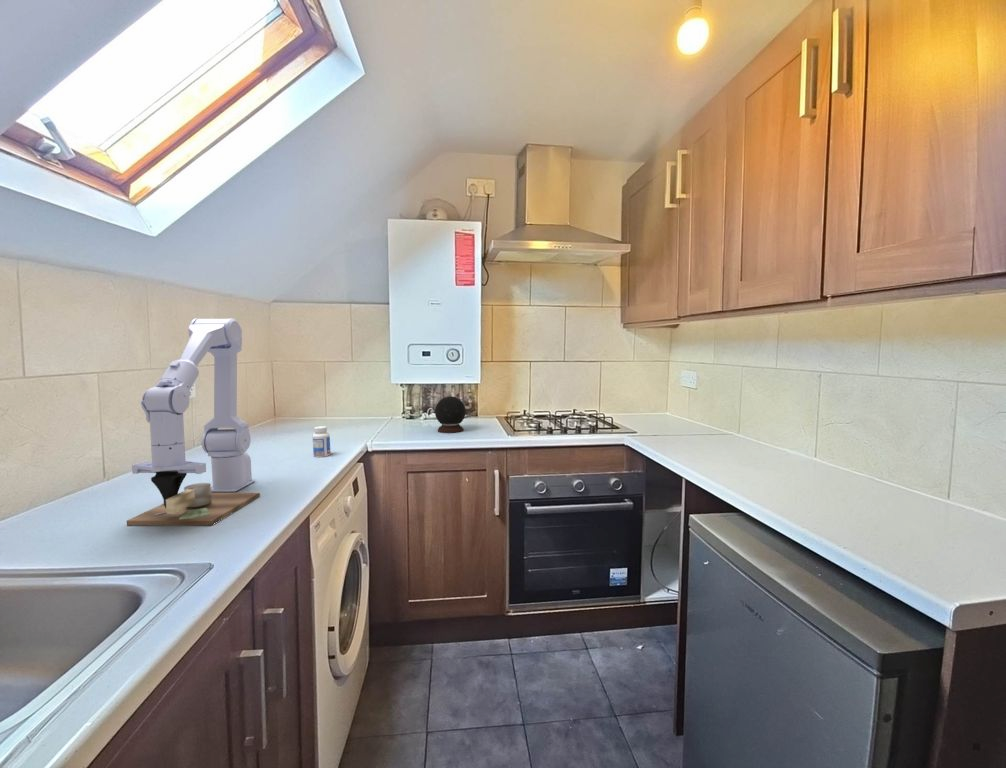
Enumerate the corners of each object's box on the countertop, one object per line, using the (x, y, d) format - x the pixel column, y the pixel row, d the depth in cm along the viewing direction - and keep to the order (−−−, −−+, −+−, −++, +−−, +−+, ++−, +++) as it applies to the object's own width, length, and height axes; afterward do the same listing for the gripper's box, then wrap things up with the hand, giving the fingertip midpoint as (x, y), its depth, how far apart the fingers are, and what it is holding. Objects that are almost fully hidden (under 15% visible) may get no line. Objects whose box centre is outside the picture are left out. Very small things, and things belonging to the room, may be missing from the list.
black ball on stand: (435, 434, 190) (434, 398, 189) (435, 428, 203) (434, 395, 202) (467, 433, 192) (466, 397, 191) (464, 427, 205) (464, 394, 204)
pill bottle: (325, 452, 158) (324, 425, 157) (333, 455, 155) (332, 426, 154) (310, 455, 154) (309, 427, 153) (318, 458, 150) (317, 429, 150)
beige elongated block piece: (194, 499, 106) (193, 482, 106) (216, 499, 106) (215, 482, 106) (158, 518, 94) (157, 499, 94) (183, 518, 95) (181, 499, 94)
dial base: (187, 496, 113) (187, 491, 113) (259, 496, 112) (259, 491, 112) (126, 525, 95) (126, 519, 95) (212, 525, 94) (211, 519, 94)
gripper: (117, 447, 92) (121, 512, 93) (188, 447, 92) (191, 513, 93) (146, 440, 99) (149, 501, 100) (211, 440, 99) (214, 501, 100)
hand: (171, 506), depth 97 cm, fingers closed
